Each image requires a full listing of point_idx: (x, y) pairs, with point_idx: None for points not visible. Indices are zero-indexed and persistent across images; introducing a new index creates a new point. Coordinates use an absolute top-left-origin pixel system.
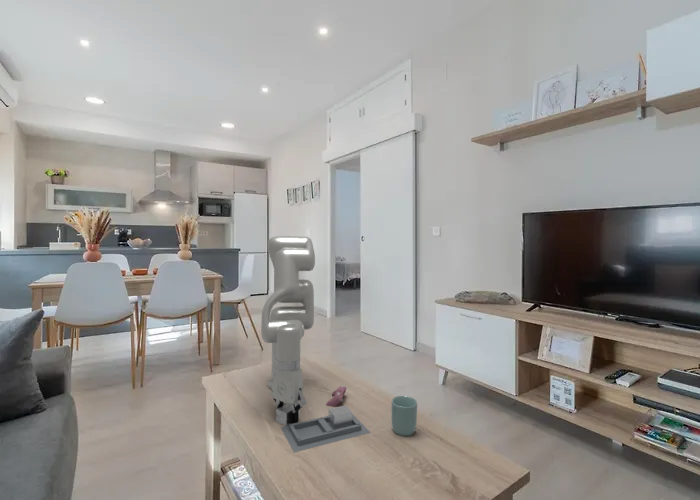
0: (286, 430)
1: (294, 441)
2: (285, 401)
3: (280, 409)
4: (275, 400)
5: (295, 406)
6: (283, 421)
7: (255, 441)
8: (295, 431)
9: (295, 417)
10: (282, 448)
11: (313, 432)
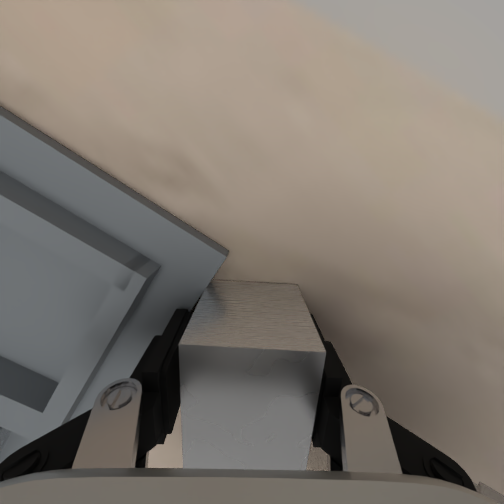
0: (162, 246)
1: (13, 169)
2: (132, 501)
3: (283, 367)
4: (415, 452)
5: (204, 459)
6: (230, 299)
7: (279, 46)
8: (28, 229)
9: (142, 357)
10: (60, 91)
11: (13, 315)
